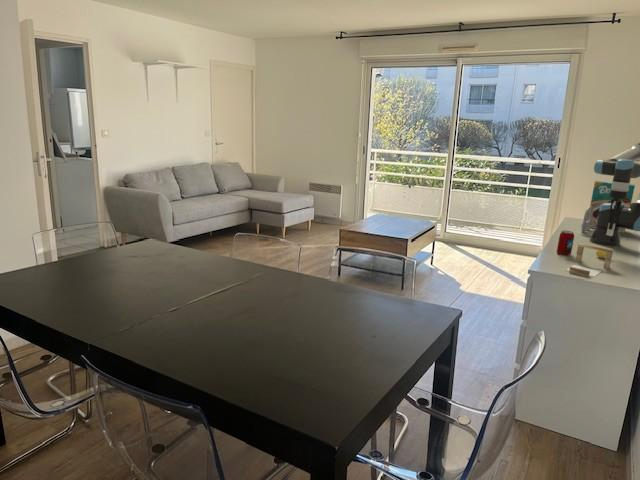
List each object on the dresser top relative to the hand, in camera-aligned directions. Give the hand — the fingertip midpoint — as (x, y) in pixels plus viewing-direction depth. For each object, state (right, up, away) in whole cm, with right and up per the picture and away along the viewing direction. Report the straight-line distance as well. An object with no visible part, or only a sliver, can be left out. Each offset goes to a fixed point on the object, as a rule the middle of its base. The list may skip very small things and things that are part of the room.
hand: (609, 235), depth 251 cm
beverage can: (-24, -10, 0) cm, 26 cm away
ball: (-6, -9, -5) cm, 12 cm away
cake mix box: (+36, +5, +64) cm, 73 cm away
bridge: (-18, -14, -17) cm, 29 cm away
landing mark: (-28, -17, -27) cm, 42 cm away
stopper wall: (-33, -18, -32) cm, 50 cm away
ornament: (+21, +1, +48) cm, 53 cm away
